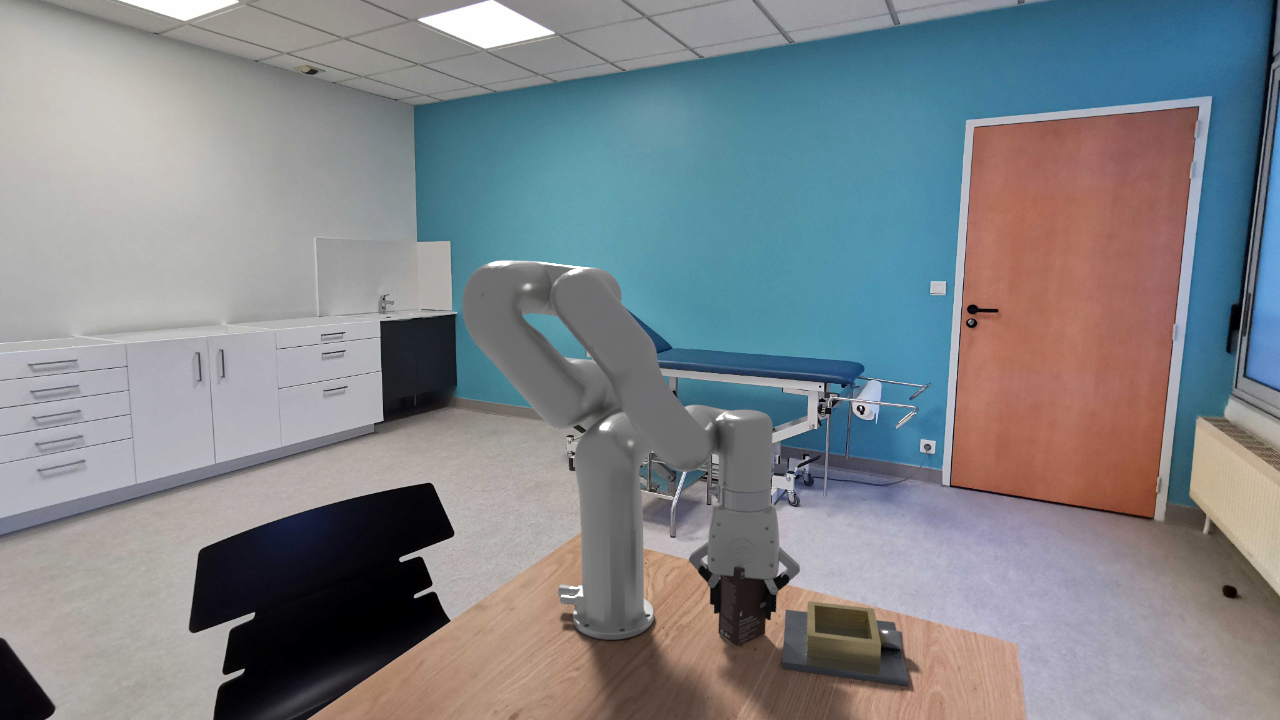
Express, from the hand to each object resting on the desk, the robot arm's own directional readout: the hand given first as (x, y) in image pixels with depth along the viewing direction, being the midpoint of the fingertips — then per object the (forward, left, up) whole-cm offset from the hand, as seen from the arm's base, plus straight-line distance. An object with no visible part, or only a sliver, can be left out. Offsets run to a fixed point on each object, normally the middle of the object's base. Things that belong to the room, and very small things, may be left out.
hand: (742, 611), depth 96 cm
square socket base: (+14, 0, -4) cm, 14 cm away
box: (0, 0, -4) cm, 4 cm away
